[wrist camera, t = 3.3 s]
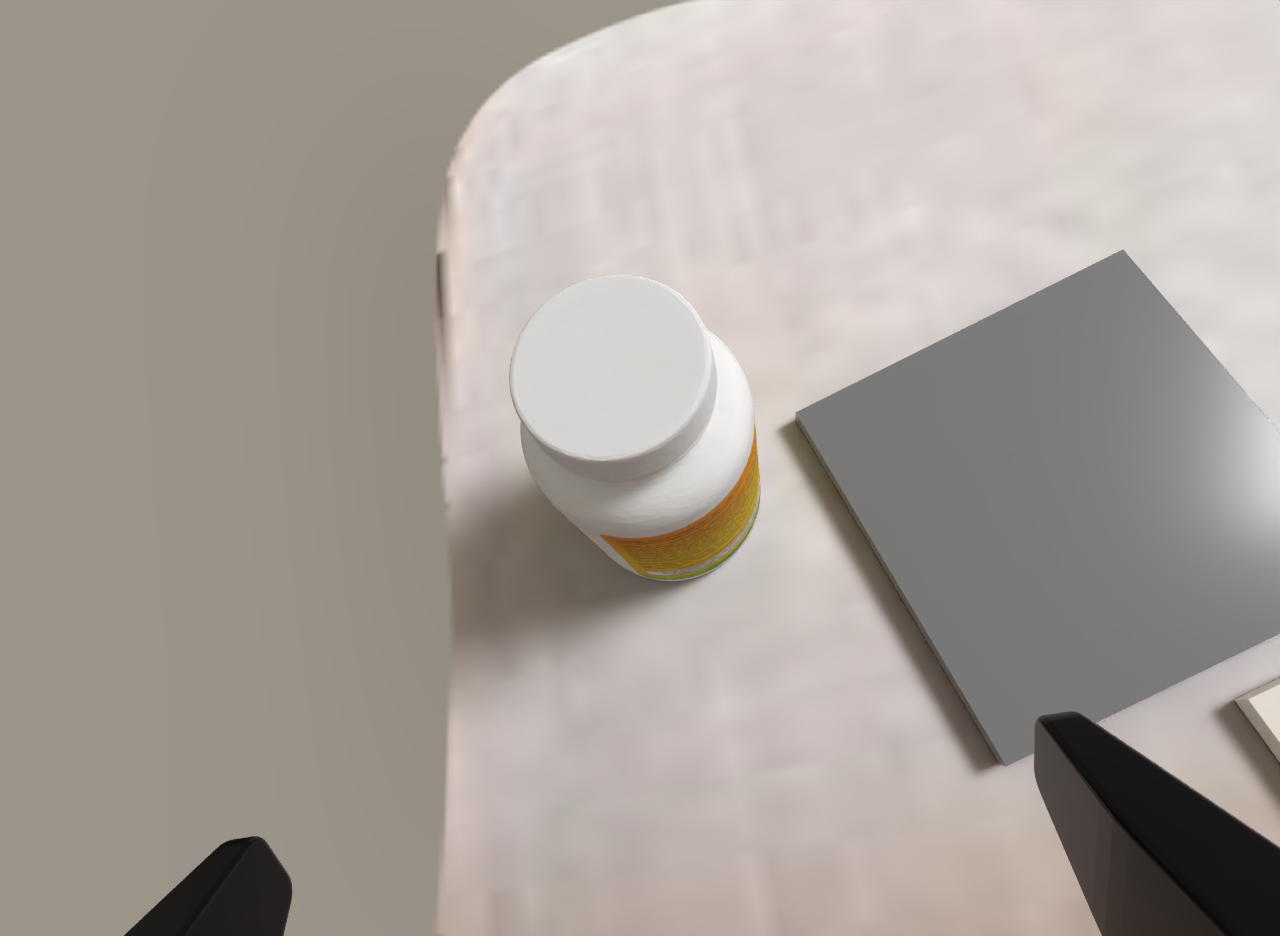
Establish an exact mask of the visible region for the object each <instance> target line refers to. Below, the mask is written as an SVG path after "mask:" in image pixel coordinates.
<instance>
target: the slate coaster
mask: <svg viewBox="0 0 1280 936" xmlns="http://www.w3.org/2000/svg"><path fill="white" fill-rule="evenodd" d="M796 421H797V423H798V425H799V426H800V428H801V430H802V431H803V433H804V435H805V436H806V438H807V440H808V441H809V443H810V445H811V447H812V448H813V450H814V452H815V453H816V455H817V457H818V458H819V460H820V462H821V463H822V465H823V467H824V468H825V470H826V472H827V474H828V475H829V477H830V479H831V480H832V482H833V484H834V485H835V487H836V489H837V490H838V492H839V494H840V496H841V497H842V499H843V501H844V502H845V504H846V506H847V507H848V509H849V511H850V512H851V514H852V516H853V518H854V519H855V521H856V523H857V524H858V526H859V528H860V529H861V531H862V533H863V534H864V536H865V538H866V540H867V541H868V543H869V545H870V546H871V548H872V550H873V551H874V553H875V555H876V556H877V558H878V560H879V561H880V563H881V565H882V567H883V568H884V570H885V572H886V573H887V575H888V577H889V578H890V580H891V582H892V583H893V585H894V587H895V589H896V590H897V592H898V594H899V595H900V597H901V599H902V600H903V602H904V604H905V605H906V607H907V609H908V611H909V612H910V614H911V616H912V617H913V619H914V621H915V622H916V624H917V626H918V627H919V629H920V631H921V633H922V634H923V636H924V638H925V639H926V641H927V643H928V644H929V646H930V648H931V649H932V651H933V653H934V655H935V656H936V658H937V660H938V661H939V663H940V665H941V666H942V668H943V670H944V671H945V673H946V675H947V676H948V678H949V680H950V682H951V683H952V685H953V687H954V688H955V690H956V692H957V693H958V695H959V697H960V698H961V700H962V702H963V704H964V705H965V707H966V709H967V710H968V712H969V714H970V715H971V717H972V719H973V720H974V722H975V724H976V726H977V727H978V729H979V731H980V732H981V734H982V736H983V737H984V739H985V741H986V742H987V744H988V746H989V748H990V749H991V751H992V753H993V754H994V756H995V758H996V759H997V761H998V763H999V764H1000V765H1004V766H1007V765H1009V764H1012V763H1014V762H1016V761H1018V760H1020V759H1022V758H1024V757H1026V756H1028V755H1030V754H1032V753H1034V727H1035V722H1036V720H1037V718H1038V717H1040V716H1042V715H1048V714H1055V713H1061V712H1068V711H1074V712H1078V713H1080V714H1083V715H1084V716H1086V717H1087V718H1089V719H1090V720H1092V721H1093V722H1095V723H1096V722H1098V721H1100V720H1102V719H1104V718H1106V717H1108V716H1110V715H1112V714H1114V713H1117V712H1119V711H1121V710H1123V709H1125V708H1127V707H1129V706H1131V705H1133V704H1135V703H1137V702H1139V701H1141V700H1143V699H1145V698H1147V697H1149V696H1152V695H1154V694H1156V693H1158V692H1160V691H1162V690H1164V689H1166V688H1168V687H1170V686H1172V685H1174V684H1176V683H1178V682H1180V681H1182V680H1185V679H1187V678H1189V677H1191V676H1193V675H1195V674H1197V673H1199V672H1201V671H1203V670H1205V669H1207V668H1209V667H1211V666H1213V665H1215V664H1217V663H1220V662H1222V661H1224V660H1226V659H1228V658H1230V657H1232V656H1234V655H1236V654H1238V653H1240V652H1242V651H1244V650H1246V649H1248V648H1250V647H1252V646H1255V645H1257V644H1259V643H1261V642H1263V641H1265V640H1267V639H1269V638H1271V637H1273V636H1275V635H1277V634H1279V633H1280V432H1279V431H1278V429H1277V428H1276V427H1275V426H1274V425H1273V424H1272V422H1271V421H1270V420H1269V419H1268V418H1267V417H1266V415H1265V414H1264V413H1263V412H1262V411H1261V410H1260V408H1259V407H1258V406H1257V405H1256V404H1255V403H1254V401H1253V400H1252V399H1251V398H1250V397H1249V396H1248V394H1247V393H1246V392H1245V391H1244V390H1243V389H1242V387H1241V386H1240V385H1239V384H1238V383H1237V382H1236V380H1235V379H1234V378H1233V377H1232V376H1231V375H1230V374H1229V372H1228V371H1227V370H1226V369H1225V368H1224V367H1223V365H1222V364H1221V363H1220V362H1219V361H1218V360H1217V358H1216V357H1215V356H1214V355H1213V354H1212V353H1211V351H1210V350H1209V349H1208V348H1207V347H1206V346H1205V344H1204V343H1203V342H1202V341H1201V340H1200V339H1199V337H1198V336H1197V335H1196V334H1195V333H1194V332H1193V330H1192V329H1191V328H1190V327H1189V326H1188V325H1187V323H1186V322H1185V321H1184V320H1183V319H1182V318H1181V316H1180V315H1179V314H1178V313H1177V312H1176V311H1175V309H1174V308H1173V307H1172V306H1171V305H1170V304H1169V302H1168V301H1167V300H1166V299H1165V298H1164V297H1163V295H1162V294H1161V293H1160V292H1159V291H1158V290H1157V288H1156V287H1155V286H1154V285H1153V284H1152V283H1151V281H1150V280H1149V279H1148V278H1147V277H1146V276H1145V274H1144V273H1143V272H1142V271H1141V270H1140V269H1139V267H1138V266H1137V265H1136V264H1135V263H1134V262H1133V261H1132V259H1131V258H1130V257H1129V256H1128V255H1127V254H1126V252H1125V251H1124V250H1121V251H1119V252H1117V253H1115V254H1113V255H1111V256H1109V257H1107V258H1105V259H1103V260H1101V261H1099V262H1097V263H1095V264H1093V265H1091V266H1089V267H1087V268H1085V269H1083V270H1081V271H1079V272H1077V273H1075V274H1073V275H1071V276H1069V277H1067V278H1065V279H1063V280H1061V281H1059V282H1057V283H1055V284H1053V285H1051V286H1049V287H1047V288H1045V289H1043V290H1041V291H1039V292H1037V293H1035V294H1033V295H1031V296H1029V297H1027V298H1025V299H1023V300H1021V301H1019V302H1017V303H1015V304H1013V305H1011V306H1009V307H1007V308H1005V309H1003V310H1001V311H999V312H997V313H995V314H993V315H991V316H989V317H987V318H985V319H983V320H981V321H979V322H977V323H975V324H973V325H970V326H968V327H966V328H964V329H962V330H960V331H958V332H956V333H954V334H952V335H950V336H948V337H946V338H944V339H942V340H940V341H938V342H936V343H934V344H932V345H930V346H928V347H926V348H924V349H922V350H920V351H918V352H916V353H914V354H912V355H910V356H908V357H906V358H904V359H902V360H900V361H898V362H896V363H894V364H892V365H890V366H888V367H886V368H884V369H882V370H880V371H878V372H876V373H874V374H872V375H870V376H868V377H866V378H864V379H862V380H860V381H858V382H856V383H854V384H852V385H850V386H848V387H846V388H844V389H842V390H840V391H838V392H836V393H834V394H832V395H830V396H828V397H826V398H824V399H822V400H820V401H818V402H816V403H814V404H812V405H810V406H808V407H806V408H804V409H802V410H800V411H798V412H796Z"/></svg>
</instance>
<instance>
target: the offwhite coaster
mask: <svg viewBox="0 0 1280 936" xmlns="http://www.w3.org/2000/svg"><path fill="white" fill-rule="evenodd" d="M1235 701H1236V703H1237V704H1238V705H1239V707H1240V708H1241V710H1242V711H1243V712H1244V714H1245V715H1246V716H1247V718H1248V719H1249V721H1250V722H1251V723H1252V725H1253V726H1254V728H1255V729H1256V730H1257V732H1258V733H1259V734H1260V736H1261V737H1262V739H1263V740H1264V741H1265V743H1266V744H1267V745H1268V747H1269V748H1270V750H1271V751H1272V752H1273V754H1274V755H1275V757H1276V758H1277V759H1278V761H1279V762H1280V678H1278V679H1276V680H1274V681H1272V682H1270V683H1268V684H1266V685H1264V686H1262V687H1260V688H1257V689H1255V690H1253V691H1251V692H1249V693H1247V694H1245V695H1243V696H1241V697H1239V698H1237V699H1235Z"/></svg>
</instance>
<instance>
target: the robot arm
mask: <svg viewBox="0 0 1280 936" xmlns="http://www.w3.org/2000/svg"><path fill="white" fill-rule="evenodd" d="M1034 772H1035V778H1036V782H1037V785H1038V788H1039V791H1040V793H1041V796H1042V798H1043V800H1044V803H1045V805H1046V807H1047V810H1048V812H1049V814H1050V817H1051V819H1052V821H1053V824H1054V826H1055V828H1056V831H1057V833H1058V835H1059V838H1060V840H1061V842H1062V845H1063V847H1064V849H1065V852H1066V854H1067V856H1068V859H1069V861H1070V863H1071V866H1072V868H1073V870H1074V873H1075V875H1076V877H1077V880H1078V882H1079V884H1080V887H1081V889H1082V891H1083V894H1084V896H1085V898H1086V901H1087V903H1088V905H1089V908H1090V910H1091V912H1092V915H1093V917H1094V919H1095V921H1096V923H1097V926H1098V928H1099V930H1100V932H1101V935H1102V936H1280V847H1279V846H1277V845H1276V844H1274V843H1273V842H1271V841H1270V840H1268V839H1267V838H1265V837H1264V836H1262V835H1261V834H1259V833H1258V832H1256V831H1255V830H1254V829H1252V828H1251V827H1249V826H1248V825H1246V824H1245V823H1243V822H1242V821H1240V820H1239V819H1237V818H1236V817H1234V816H1233V815H1231V814H1230V813H1228V812H1227V811H1225V810H1224V809H1222V808H1221V807H1219V806H1218V805H1216V804H1215V803H1213V802H1212V801H1211V800H1209V799H1208V798H1206V797H1205V796H1203V795H1202V794H1200V793H1199V792H1197V791H1196V790H1194V789H1193V788H1191V787H1190V786H1188V785H1187V784H1185V783H1184V782H1182V781H1181V780H1179V779H1178V778H1176V777H1175V776H1173V775H1172V774H1170V773H1169V772H1168V771H1166V770H1165V769H1163V768H1162V767H1160V766H1159V765H1157V764H1156V763H1154V762H1153V761H1151V760H1150V759H1148V758H1147V757H1145V756H1144V755H1142V754H1141V753H1139V752H1138V751H1136V750H1135V749H1133V748H1132V747H1130V746H1129V745H1127V744H1126V743H1125V742H1123V741H1122V740H1120V739H1119V738H1117V737H1116V736H1114V735H1113V734H1111V733H1110V732H1108V731H1107V730H1105V729H1104V728H1102V727H1101V726H1099V725H1098V724H1096V723H1095V722H1093V721H1092V720H1090V719H1089V718H1087V717H1086V716H1084V715H1083V714H1080V713H1078V712H1074V711H1068V712H1061V713H1055V714H1048V715H1042V716H1040V717H1038V718H1037V720H1036V722H1035V727H1034ZM291 899H292V883H291V879H290V876H289V875H288V873H287V872H286V870H285V869H284V867H283V866H282V864H281V863H280V861H279V860H278V858H277V857H276V855H275V854H274V852H273V851H272V849H271V848H270V846H269V845H268V844H267V842H266V841H265V840H264V839H263V838H260V837H258V836H253V837H247V838H240V839H233V840H229V841H227V842H225V843H223V844H221V845H220V846H219V847H218V848H217V849H215V850H214V851H213V852H212V854H210V856H208V857H207V858H206V859H205V860H204V861H203V862H202V863H201V864H200V865H198V866H197V867H196V868H195V869H194V870H193V871H192V872H191V873H190V874H189V875H188V876H187V877H186V878H185V879H184V880H183V881H181V882H180V883H179V884H178V885H177V886H176V887H175V888H174V889H173V890H172V891H171V892H170V893H169V894H168V895H167V896H165V898H163V899H162V900H161V901H160V902H159V903H158V904H157V905H156V906H155V907H154V908H153V909H152V910H151V911H150V912H148V914H146V915H145V916H144V917H143V918H142V919H141V920H140V921H139V922H138V923H137V924H136V925H135V926H134V927H133V928H131V930H129V931H128V932H127V933H126V934H125V935H124V936H283V935H284V930H285V926H286V922H287V918H288V913H289V909H290V904H291Z"/></svg>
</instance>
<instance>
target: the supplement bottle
mask: <svg viewBox="0 0 1280 936" xmlns="http://www.w3.org/2000/svg"><path fill="white" fill-rule="evenodd" d="M509 382H510V391H511V397H512V401H513V404H514V407H515V410H516V412H517V414H518V417H519V419H520V420H521V442H522V448H523V453H524V457H525V460H526V463H527V466H528V468H529V470H530V473H531V475H532V477H533V479H534V481H535V482H536V484H537V485H538V487H539V488H540V490H541V491H542V492H543V494H544V495H545V496H546V498H547V499H548V500H549V501H550V502H551V504H552V505H553V506H554V507H555V508H556V509H557V510H558V511H559V512H560V513H561V514H562V515H564V516H565V517H566V518H567V519H568V520H569V521H570V522H571V523H572V524H574V525H575V526H576V527H577V528H578V529H579V530H580V531H581V532H582V533H584V534H585V535H586V536H587V537H588V538H589V539H590V540H591V541H592V542H593V543H594V544H596V545H597V546H598V547H599V548H600V549H601V550H602V551H603V552H604V553H605V554H606V555H607V556H609V557H610V558H611V559H612V560H614V561H615V562H617V563H618V564H619V565H621V566H622V567H623V568H625V569H627V570H629V571H631V572H632V573H634V574H637V575H639V576H642V577H645V578H649V579H654V580H660V581H682V580H688V579H693V578H696V577H700V576H702V575H705V574H707V573H709V572H711V571H713V570H715V569H717V568H719V567H720V566H722V565H723V564H724V563H726V562H727V561H728V560H729V559H730V558H731V557H733V556H734V555H735V554H736V553H737V551H738V550H739V549H740V548H741V547H742V545H743V544H744V543H745V541H746V540H747V538H748V537H749V535H750V533H751V531H752V529H753V526H754V524H755V521H756V518H757V514H758V510H759V503H760V477H759V467H758V455H757V443H756V429H755V414H754V406H753V401H752V396H751V392H750V389H749V385H748V382H747V380H746V377H745V375H744V373H743V370H742V368H741V367H740V365H739V363H738V361H737V360H736V358H735V357H734V355H733V354H732V352H731V351H730V350H729V349H728V347H727V346H726V345H725V344H724V343H723V342H722V341H721V340H720V339H719V338H717V337H716V336H715V335H714V334H713V333H711V332H710V331H709V330H708V329H706V328H705V326H704V324H703V322H702V320H701V318H700V317H699V315H698V314H697V312H696V311H695V309H694V308H693V307H692V306H691V305H690V303H689V302H688V301H687V300H686V299H684V298H683V297H682V296H681V295H680V294H679V293H677V292H676V291H674V290H673V289H671V288H669V287H667V286H666V285H664V284H662V283H660V282H657V281H655V280H652V279H648V278H645V277H640V276H635V275H617V274H613V275H604V276H598V277H594V278H590V279H586V280H583V281H581V282H578V283H576V284H573V285H571V286H569V287H567V288H566V289H564V290H562V291H561V292H559V293H557V294H556V295H554V296H553V297H552V298H550V299H549V300H548V301H546V302H545V303H544V304H543V305H542V306H541V307H540V308H539V309H538V310H537V311H536V312H535V313H534V314H533V316H532V317H531V318H530V319H529V321H528V322H527V323H526V325H525V327H524V328H523V330H522V332H521V334H520V336H519V338H518V340H517V342H516V345H515V347H514V351H513V354H512V358H511V364H510V375H509Z"/></svg>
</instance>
